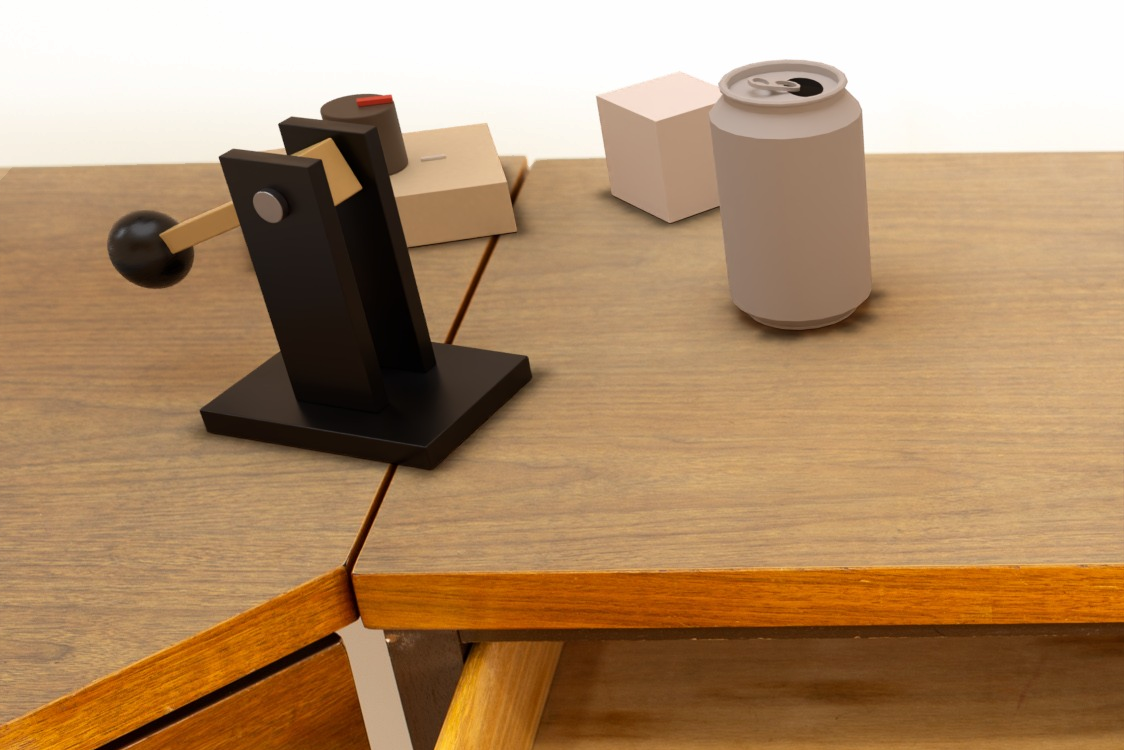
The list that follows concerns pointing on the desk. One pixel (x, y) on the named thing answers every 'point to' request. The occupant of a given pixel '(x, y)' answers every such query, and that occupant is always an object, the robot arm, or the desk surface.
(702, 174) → the pale pink cube
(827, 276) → the can
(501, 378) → the bracket
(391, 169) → the lock knob
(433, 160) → the plate
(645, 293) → the desk surface
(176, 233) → the lever
